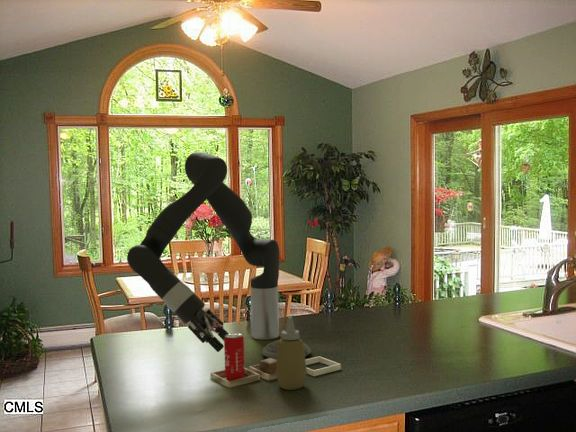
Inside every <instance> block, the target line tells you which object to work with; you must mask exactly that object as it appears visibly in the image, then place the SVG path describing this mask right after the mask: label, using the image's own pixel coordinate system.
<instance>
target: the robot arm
mask: <svg viewBox="0 0 576 432" xmlns="http://www.w3.org/2000/svg"><path fill="white" fill-rule="evenodd" d="M184 170H185V171H184V172H185V175H186V177H187V178H188V180H189V181H190V183H192V185H193V186H192V187H191V188H190V189H189V190H188V191H187V192H186V193H184V194H183V195H182V196H180V197H179V198H178V199H176V200H174V201H173V202H171V203H170V204H169V205H167V206H165V207H164V209H162V210H161V211H160V213H158V214H157V216H156V217H155V219H154V220H153V221H152V222H151V224H150V225H149V227H148V228H147V230H146V233H145V236H144V237H143V239H142V241H141V242H140V244H138V245H134V246H133V247H131V248H130V249H129V250H128V252H127V255H126V260H127V261H126V262H127V264H128V266H129V268H130V269H131V270H132V271H133V272H134V273H136V274H138V275H139V277H141V278H142V279H143V281H145V282H146V283H147V284H148V285H149V288H151V290H152V291H153V292H154V293H155V294H156V295H157V296H158V298H160V300H162V301H163V303H164V304H165V305H166V306H167V308H168V309H169V310H170V311H171V312H172V313H173V314H174V315H175V316H177V318H178V319H179V320H180V321H181V322H182V323H183V324H188V323H190V324H189V325H187V328H188V329H189V330H190V331H191V332H192V333H193V335H194V336H195V337H196V338H197V339H199V341H200V342H201V343H203V344H204V343H206V344H209V345H210V346H211V347H212V348H213V349H214V350H215V351H216V352H217V353H219V352H221V350H222V349H223V348H224V343H222V342H221V341H220V340H219V339H218V338H217V337H216V336H214V333H215V334H217V336H219V338H220V339H221V340H222V341H224V338H225V335H226V334H230V333H229V332H228V331H227V330H226V329H225V328H224V322H223V320H221V319H220V318H219V317H218V316H217V315H216V314H215V313H214V312H213V311H211V310H210V309H207V310H206V311H205V310H203V308H205V307H206V304H205V302H204V301H203V300H202V299H201V298H200V297H199V296H198V295H197V294H196V293H195V292H194V291H193V290H192V289H191V288H190V287H189V286H188V285H187V284H185V283H184V282H182V281H181V280H180V278H178V277H177V276H176V274H174V272H172V271H171V270H170V269H169V268H168V267H167V266H166V265H165V264H164V263H163V262H162V260H161V259H160V258H161V256H162V255H163V254H164V252H165V249H166V247H167V246H168V245H169V244H170V243H171V242H172V240H173V239H174V238H175V236H176V234H177V233H178V232H179V230H180V229H181V228H182V226H183V225H184V224H185V222H187V220H188V219H189V218H190V216H192V215H193V214H194V213H195V211H196V210H198V208H199V207H200V206H201V205H202V204H203V203H205V201H207V202H208V204H209V205H210V207H211V208H212V209H213V211H214V212H215V214H216V215H217V217H218V218H219V220H220V221H221V223H222V224H223V226H224V227H225V228H226V229H227V230H228V232H229V233H230V235H231V236H232V238H233V240H234V241H235V243H236V244H237V246H238V248H239V250H240V252H241V254H242V256H243V258H244V259H245V261H246V262H247V263H248V264H249V265H251V266H253V267H263V272H262V273H261V274H259V275H256V276H254V277H251V279H250V304H251V305H250V309H249V312H250V313H249V315H250V316H249V318H250V335H251V338H253V339H255V340H264V341H265V340H273V339H277V338H278V337H279V336H280V330H279V329H280V327H279V325H280V322H279V315H280V314H279V313H280V312H279V286H278V285H279V276H280V247H279V246H280V245H279V244H278V242H277V241H276V240H275V239H269V238H268V239H267V238H255V237H254V236H253V235H252V233H251V227H252V223H253V215H252V213H251V210H250V209H249V208H248V206H247V204H246V202H245V201H244V200H243V199H242V198H241V196H240V195H238V194H237V193H236V192H235V191H234V190H233V189H232V188H230V187H229V186H228V185H227V184H226V183H224V181H225V179H226V177H227V175H228V164H227V163H226V161H225V160H224V159H223V158H221V157H218V156H216V155H212V154H210V153H206V152H203V151H196V152H193V153H190V154H189V155H188V156H187V158H186V160H185V163H184ZM213 332H214V333H213Z"/></svg>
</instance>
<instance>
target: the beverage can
mask: <svg viewBox="0 0 576 432" xmlns="http://www.w3.org/2000/svg"><path fill="white" fill-rule="evenodd" d="M244 339H245V338H244V336H243V334H242V333H239V332H234V333H233V332H231V333H229V334H226V335H225V338H224V340H223V345H224V347H223V348H224V370H225V378H226V380H228V381H232V380H236V379H240V378H244V377H245V375H246V374H245V372H244V367H245V349H244V348H245V346H244V345H245V341H244Z"/></svg>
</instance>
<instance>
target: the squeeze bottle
mask: <svg viewBox="0 0 576 432" xmlns="http://www.w3.org/2000/svg"><path fill="white" fill-rule="evenodd" d="M280 333H281V334H280V335H281V338H280V340H279V339H278V340H279V341H278V348H277V361H276V376H277V379H276V380H277V381H278V384H279V386H280V389H284V390H287V391H288V390H289V391H294V390H299V389H301V388H303V385H304V384H305V383H304V382H305V379H306V376H307V370H306V367H307V365H306V361H305V360H306V356H305V353H304V345H303V343H304V340H302V339H301V338H300V331H299V330H298V329H296V328H295V323H294V319H293V317H292V316H288V317H287V320H286V325H285V330H282V331H280Z"/></svg>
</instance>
